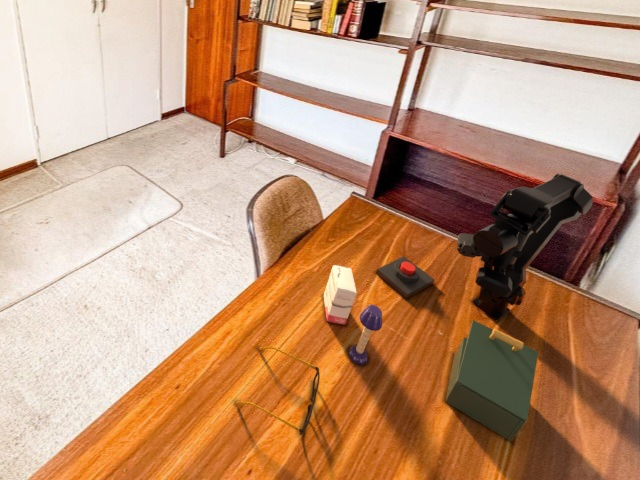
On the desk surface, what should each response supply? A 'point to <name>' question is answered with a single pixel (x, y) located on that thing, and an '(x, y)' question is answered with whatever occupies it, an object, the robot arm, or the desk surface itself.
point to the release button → (407, 268)
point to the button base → (404, 278)
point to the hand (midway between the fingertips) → (482, 288)
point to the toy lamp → (366, 332)
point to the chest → (480, 403)
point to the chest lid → (498, 369)
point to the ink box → (339, 294)
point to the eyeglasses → (313, 399)
